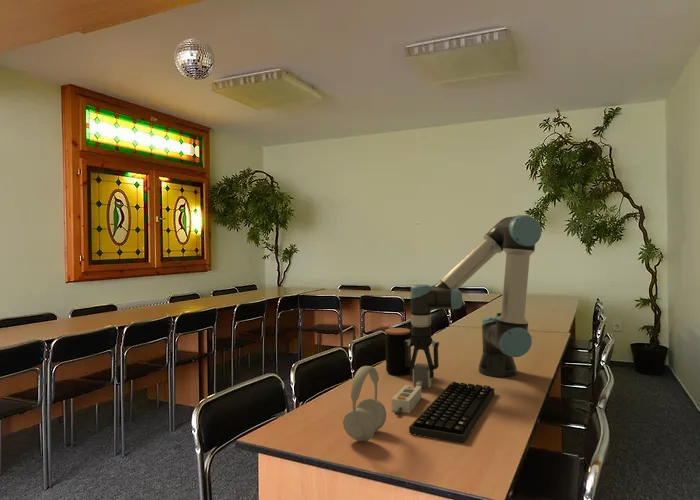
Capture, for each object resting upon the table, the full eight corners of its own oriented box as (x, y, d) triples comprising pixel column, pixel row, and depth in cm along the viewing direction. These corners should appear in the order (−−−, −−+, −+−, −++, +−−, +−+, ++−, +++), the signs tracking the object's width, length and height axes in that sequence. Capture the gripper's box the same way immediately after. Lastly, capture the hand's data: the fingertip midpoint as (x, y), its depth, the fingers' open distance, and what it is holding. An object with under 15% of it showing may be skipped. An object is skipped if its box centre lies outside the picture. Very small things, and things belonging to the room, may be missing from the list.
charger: (430, 384, 181) (429, 364, 181) (424, 391, 173) (424, 370, 172) (417, 383, 183) (417, 363, 183) (411, 390, 175) (410, 369, 174)
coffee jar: (410, 376, 192) (409, 332, 192) (384, 375, 195) (383, 332, 194) (412, 369, 203) (411, 328, 203) (387, 368, 205) (386, 327, 205)
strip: (421, 397, 166) (421, 384, 166) (405, 417, 148) (405, 403, 148) (405, 395, 169) (405, 383, 169) (387, 415, 150) (387, 401, 150)
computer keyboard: (464, 445, 128) (463, 431, 128) (409, 435, 136) (409, 422, 136) (494, 395, 168) (494, 385, 168) (450, 390, 176) (450, 380, 175)
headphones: (362, 421, 145) (361, 357, 145) (391, 425, 142) (389, 360, 141) (338, 446, 128) (336, 374, 128) (369, 451, 125) (368, 377, 124)
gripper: (446, 324, 179) (447, 385, 179) (401, 322, 186) (402, 380, 186) (442, 328, 172) (443, 391, 172) (395, 325, 179) (396, 386, 179)
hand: (422, 385), depth 179 cm, fingers closed on charger, 5 cm apart
